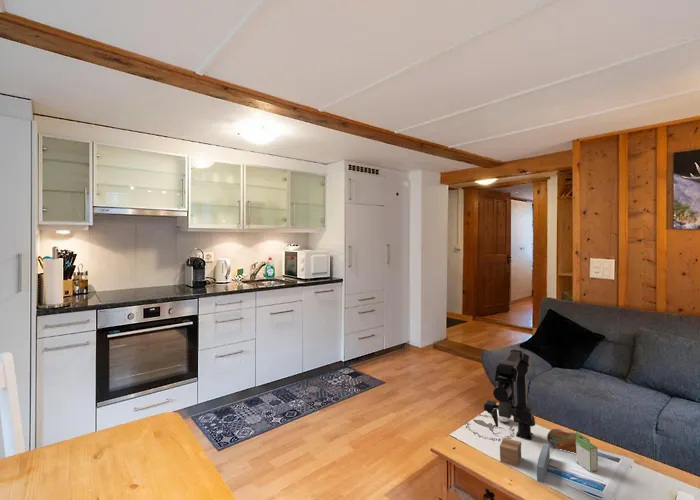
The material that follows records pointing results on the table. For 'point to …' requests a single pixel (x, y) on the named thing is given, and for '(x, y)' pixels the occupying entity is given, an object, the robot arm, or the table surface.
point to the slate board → (543, 462)
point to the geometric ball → (502, 418)
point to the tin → (562, 440)
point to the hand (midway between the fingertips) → (508, 429)
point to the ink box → (586, 453)
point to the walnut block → (510, 452)
